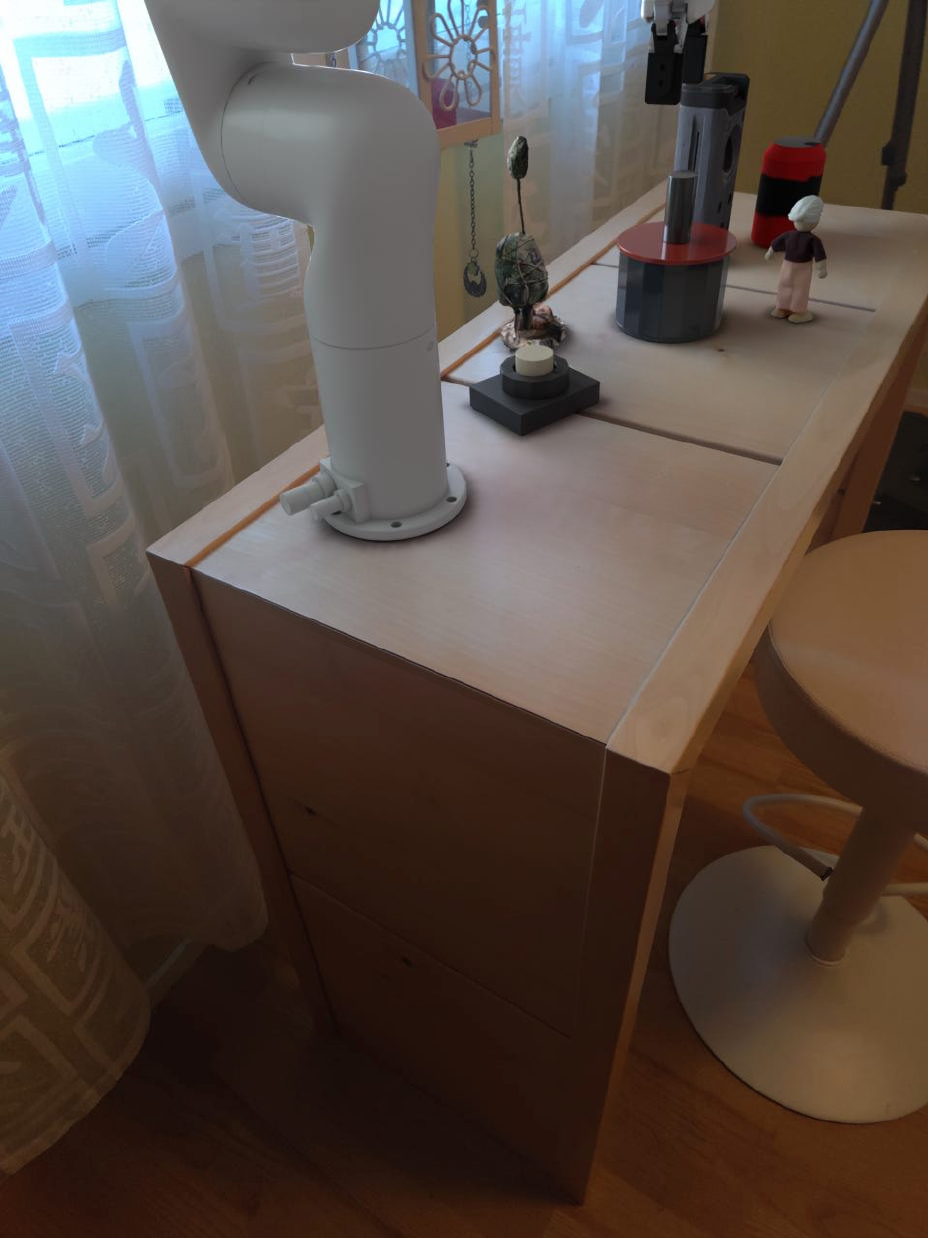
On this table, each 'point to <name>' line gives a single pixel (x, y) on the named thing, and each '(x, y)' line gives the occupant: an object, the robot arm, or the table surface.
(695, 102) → the electronic device
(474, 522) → the table surface
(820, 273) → the grandmother figurine
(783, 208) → the soda can
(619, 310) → the pot
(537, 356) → the button
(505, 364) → the control block
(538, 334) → the plant with pod
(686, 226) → the lid
